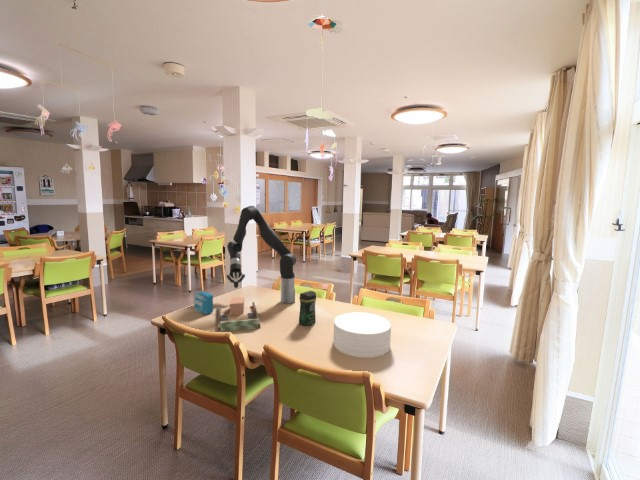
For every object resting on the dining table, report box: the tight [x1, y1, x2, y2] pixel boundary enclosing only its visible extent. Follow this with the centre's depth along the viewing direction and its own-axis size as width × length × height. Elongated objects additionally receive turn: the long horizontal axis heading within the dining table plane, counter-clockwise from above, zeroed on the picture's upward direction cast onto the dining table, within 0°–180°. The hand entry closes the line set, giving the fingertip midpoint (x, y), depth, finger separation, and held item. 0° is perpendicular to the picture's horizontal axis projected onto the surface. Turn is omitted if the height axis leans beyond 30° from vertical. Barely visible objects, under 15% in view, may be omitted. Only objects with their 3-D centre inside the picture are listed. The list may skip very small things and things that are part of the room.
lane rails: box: [217, 301, 261, 332], centre depth 193 cm, size 22×38×5 cm, turn 16°
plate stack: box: [332, 311, 392, 359], centre depth 162 cm, size 28×28×12 cm
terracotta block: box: [229, 296, 245, 316], centre depth 204 cm, size 8×12×7 cm, turn 11°
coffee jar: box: [298, 290, 317, 326], centre depth 186 cm, size 10×8×19 cm
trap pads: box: [221, 312, 256, 321], centre depth 195 cm, size 20×8×1 cm, turn 107°
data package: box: [193, 290, 214, 315], centre depth 201 cm, size 12×4×12 cm, turn 57°
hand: (236, 287), depth 219 cm, fingers closed
